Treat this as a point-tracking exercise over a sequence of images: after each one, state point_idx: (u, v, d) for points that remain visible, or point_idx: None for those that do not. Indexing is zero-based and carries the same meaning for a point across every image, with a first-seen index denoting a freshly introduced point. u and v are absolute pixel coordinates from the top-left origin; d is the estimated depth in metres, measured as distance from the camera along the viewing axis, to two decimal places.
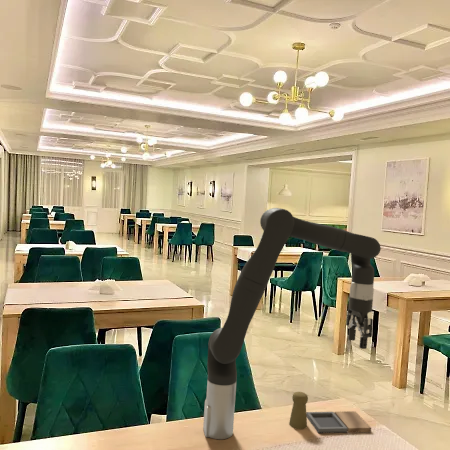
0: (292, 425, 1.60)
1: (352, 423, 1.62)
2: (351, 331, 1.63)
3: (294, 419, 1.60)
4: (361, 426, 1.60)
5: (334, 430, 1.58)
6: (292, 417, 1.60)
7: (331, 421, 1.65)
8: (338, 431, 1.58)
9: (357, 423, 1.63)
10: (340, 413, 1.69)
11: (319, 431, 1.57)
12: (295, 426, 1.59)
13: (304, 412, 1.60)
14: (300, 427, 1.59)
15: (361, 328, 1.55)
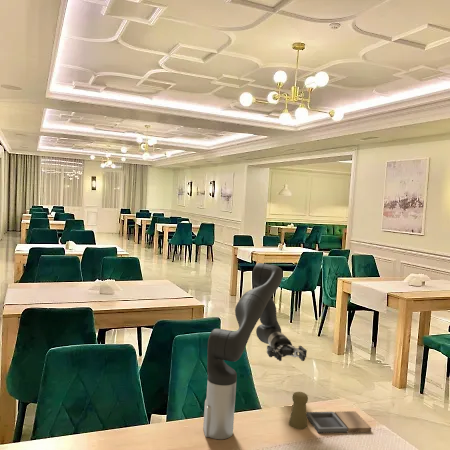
0: (292, 425, 1.60)
1: (352, 423, 1.62)
2: None
3: (294, 419, 1.60)
4: (361, 426, 1.60)
5: (334, 430, 1.58)
6: (292, 417, 1.60)
7: (331, 421, 1.65)
8: (338, 431, 1.58)
9: (357, 423, 1.63)
10: (340, 413, 1.69)
11: (319, 431, 1.57)
12: (295, 426, 1.59)
13: (304, 412, 1.60)
14: (300, 427, 1.59)
15: None
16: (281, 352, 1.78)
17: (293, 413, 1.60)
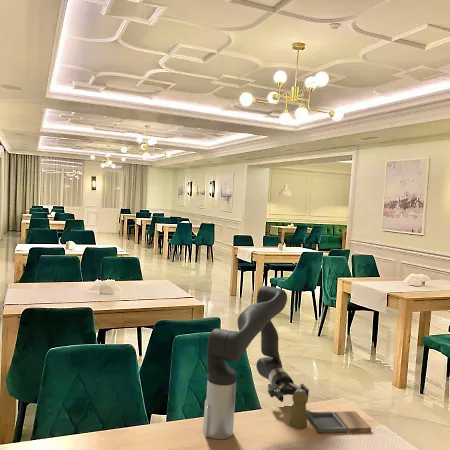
0: (292, 425, 1.60)
1: (352, 423, 1.62)
2: None
3: (294, 419, 1.60)
4: (361, 426, 1.60)
5: (334, 430, 1.58)
6: (292, 417, 1.60)
7: (331, 421, 1.65)
8: (338, 431, 1.58)
9: (357, 423, 1.63)
10: (340, 413, 1.69)
11: (319, 431, 1.57)
12: (295, 426, 1.59)
13: (304, 412, 1.60)
14: (300, 427, 1.59)
15: None
16: (282, 391, 1.73)
17: (293, 413, 1.60)
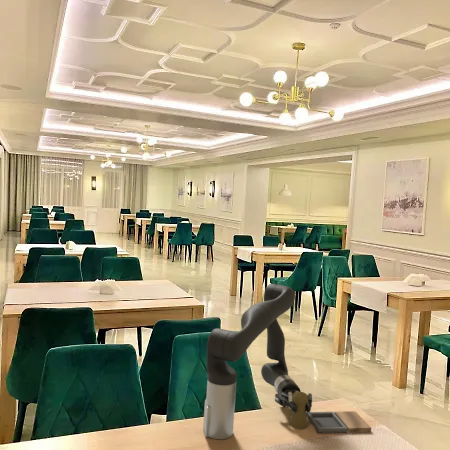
0: (292, 425, 1.60)
1: (352, 423, 1.62)
2: None
3: (294, 419, 1.60)
4: (361, 426, 1.60)
5: (334, 430, 1.58)
6: (292, 417, 1.60)
7: (331, 421, 1.65)
8: (338, 431, 1.58)
9: (357, 423, 1.63)
10: (340, 413, 1.69)
11: (319, 431, 1.57)
12: (295, 426, 1.59)
13: (304, 412, 1.60)
14: (300, 427, 1.59)
15: None
16: (292, 400, 1.66)
17: (293, 413, 1.60)
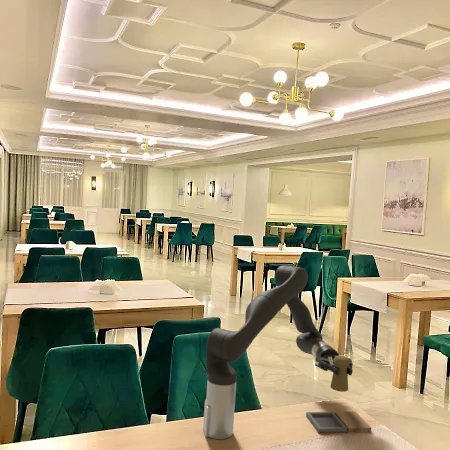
0: (334, 388, 1.62)
1: (352, 423, 1.62)
2: None
3: (336, 382, 1.62)
4: (361, 426, 1.60)
5: (334, 430, 1.58)
6: (334, 380, 1.63)
7: (331, 421, 1.65)
8: (338, 431, 1.58)
9: (357, 423, 1.63)
10: (340, 413, 1.69)
11: (319, 431, 1.57)
12: (337, 389, 1.62)
13: (346, 375, 1.62)
14: (342, 389, 1.61)
15: None
16: None
17: (335, 376, 1.63)
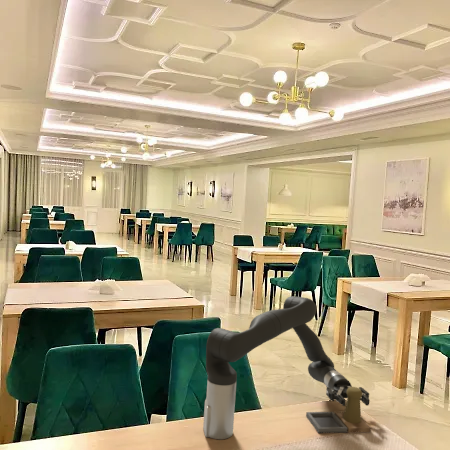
0: (347, 419, 1.63)
1: (352, 423, 1.62)
2: None
3: (349, 413, 1.63)
4: (361, 426, 1.60)
5: (334, 430, 1.58)
6: (347, 412, 1.64)
7: (331, 421, 1.65)
8: (338, 431, 1.58)
9: (357, 423, 1.63)
10: (340, 413, 1.69)
11: (319, 431, 1.57)
12: (350, 420, 1.63)
13: (359, 407, 1.63)
14: (355, 421, 1.62)
15: None
16: (342, 395, 1.69)
17: (348, 408, 1.64)
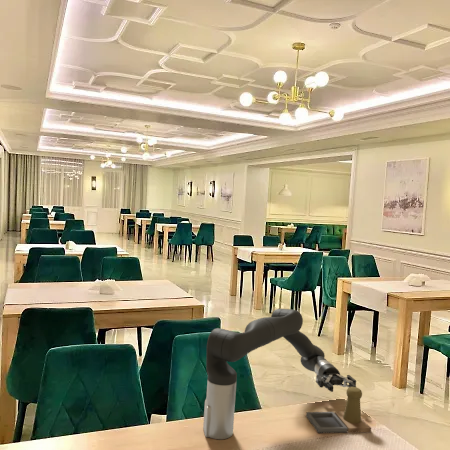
0: (347, 419, 1.63)
1: (352, 423, 1.62)
2: None
3: (349, 413, 1.63)
4: (361, 426, 1.60)
5: (334, 430, 1.58)
6: (347, 412, 1.64)
7: (331, 421, 1.65)
8: (338, 431, 1.58)
9: (357, 423, 1.63)
10: (340, 413, 1.69)
11: (319, 431, 1.57)
12: (350, 420, 1.63)
13: (359, 407, 1.63)
14: (355, 421, 1.62)
15: None
16: (331, 382, 1.80)
17: (348, 408, 1.64)
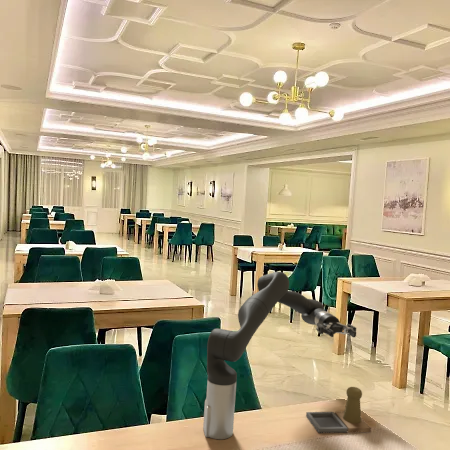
0: (347, 419, 1.63)
1: (352, 423, 1.62)
2: None
3: (349, 414, 1.63)
4: (361, 426, 1.60)
5: (334, 430, 1.58)
6: (347, 412, 1.64)
7: (331, 421, 1.65)
8: (338, 431, 1.58)
9: (357, 423, 1.63)
10: (340, 413, 1.69)
11: (319, 431, 1.57)
12: (350, 420, 1.63)
13: (359, 407, 1.63)
14: (355, 421, 1.62)
15: None
16: (331, 329, 1.80)
17: (348, 408, 1.64)
